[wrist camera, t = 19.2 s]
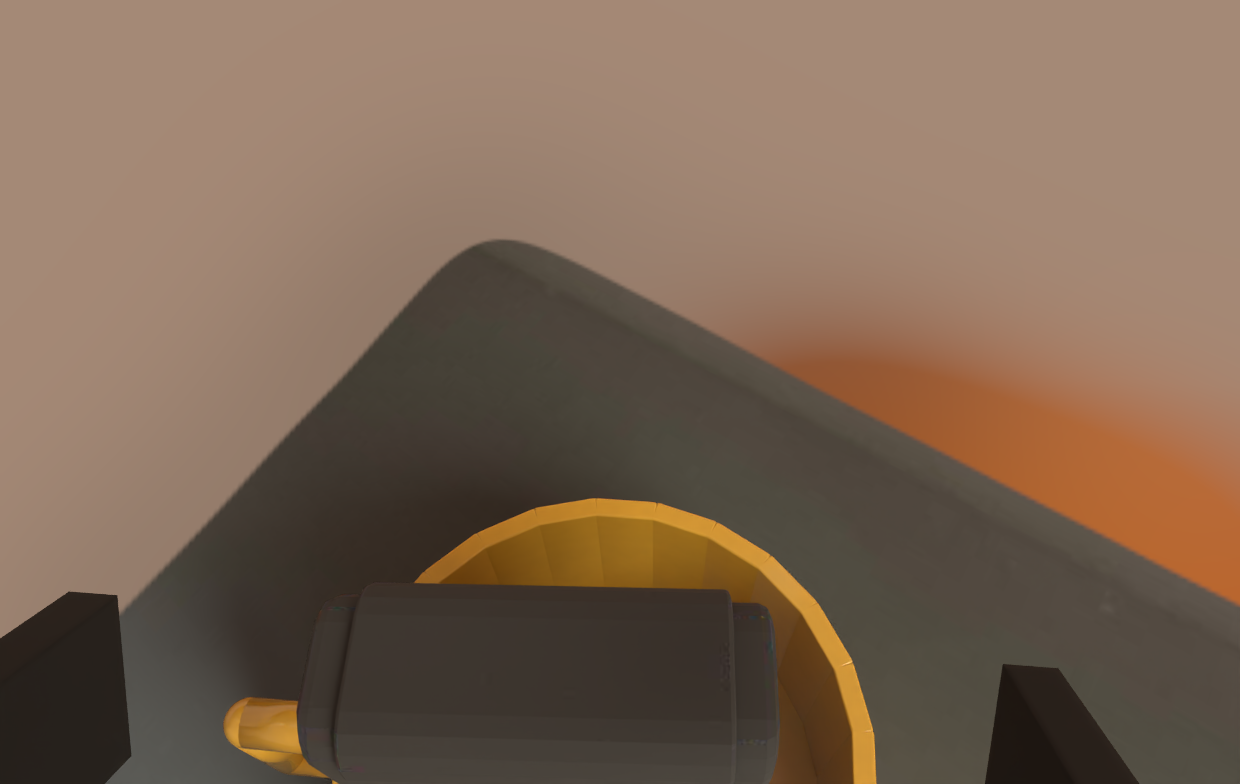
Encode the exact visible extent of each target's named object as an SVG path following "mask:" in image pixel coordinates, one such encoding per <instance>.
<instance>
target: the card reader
mask: <svg viewBox="0 0 1240 784" xmlns="http://www.w3.org/2000/svg"><path fill="white" fill-rule="evenodd" d="M296 714H297V731H298V739H299V744H300V748H301V751H302V755H303V757H304V759H305V760H306V761H307V762H308V764H309V765H310V766H312V767H314V768H315V769H317V770H318V771H320V772H321V773H323V774H324V775H326V776H327V777H329V778H330V779H332V780H334V781H335V782H337V783H338V784H769V782H770V781H771V779H772V776H773V772H774V769H775V765H776V761H777V756H778V748H779V733H780V715H779V696H778V677H777V658H776V639H775V629H774V624H773V620H772V617H771V615H770V612H769V610H768V609H767V607H765V606H763V605H761V604H759V603H735V602H732V600H731V596H730V593H729V591H727V590H725V589H680V588H631V587H582V586H534V585H485V584H436V583H388V582H373V583H371V584H370V585H368V586H366V587H364V589H363V591H362V592H361V594H360V595H356V594H342V595H340V596H337V597H335V598H332V599H330V600H328V601H326V603H325V604H324V606H323V607H322V609H321V610H320V612H319V614H318V616H317V617H316V619H315V621H314V625H313V630H312V635H311V640H310V645H309V650H308V655H307V660H306V665H305V670H304V675H303V680H302V685H301V690H300V695H299V700H298V704H297V710H296Z"/></svg>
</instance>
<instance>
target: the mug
mask: <svg viewBox="0 0 1240 784" xmlns="http://www.w3.org/2000/svg"><path fill="white" fill-rule="evenodd" d="M414 583H436V584H485V585H534V586H582V587H631V588H680V589H725V590H727V591H729V593H730V596H731V600H732V602H735V603H759V604H761V605H763V606H765V607H767V609H768V610H769V612H770V615H771V617H772V620H773V624H774V629H775V639H776V658H777V677H778V696H779V715H780V733H779V748H778V756H777V761H776V765H775V769H774V772H773V776H772V779H771V781H770V782H769V784H876V764H875V740H874V732H873V727H872V724H871V721H870V717H869V714H868V711H867V707H866V704H865V701H864V697H863V694H862V691H861V687H860V684H859V680H858V677H857V674H856V670H855V667H854V665H853V663H852V659H851V658H850V656H849V654H848V652H847V651H846V649H845V647H844V646H843V644H842V642H841V641H840V639H839V637H838V636H837V634H836V632H835V631H834V629H833V627H832V625H831V624H830V622H829V620H828V619H827V617H826V615H825V614H824V612H823V610H822V609H821V607H820V605H819V604H818V603H817V602H816V600H815V599H814V598H813V597H812V596H811V595H810V594H809V593H808V592H807V591H806V590H805V589H804V588H803V587H802V586H801V585H800V584H799V583H798V582H797V581H796V580H795V579H794V578H793V577H792V576H791V575H790V574H789V573H788V572H787V571H786V570H785V569H784V568H783V567H782V566H781V565H780V564H779V563H778V562H777V561H776V559H775V558H774V557H772V556H770V555H769V554H768V553H767V552H765V551H763V550H762V549H760V548H759V547H757V546H755V545H754V544H752V543H750V542H749V541H747V540H746V539H744V538H742V537H741V536H739V535H737V534H736V533H734V532H733V531H731V530H729V529H728V528H726V527H724V526H723V525H721V524H720V523H716V522H715V521H713V520H710V519H707V518H704V517H701V516H698V515H695V514H692V513H688V512H685V511H682V510H679V509H676V508H673V507H670V506H667V505H664V504H661V503H655V502H644V501H630V500H616V499H602V498H596V499H595V498H591V499H585V500H580V501H574V502H568V503H562V504H556V505H550V506H544V507H538V508H535V510H534V509H532V510H529V511H527V512H525V513H522V514H520V515H517V516H515V517H513V518H510V519H508V520H506V521H503V522H501V523H499V524H496V525H494V526H492V527H489V528H487V529H485V530H482V531H480V532H478V533H477V534H474V535H473V536H471V537H470V538H469V539H467V540H466V541H465V542H463V543H462V544H461V545H459V546H458V547H456V548H455V549H454V550H452V551H451V552H450V553H448V554H447V555H446V556H444V557H443V558H442V559H440V560H439V561H437V562H436V563H435V564H433V565H432V566H431V567H429V568H428V569H427V570H425V572H423V573H422V574H421V575H420V576H419V578H418V579H417V580H416V581H415V582H414ZM297 704H298V701H295V700H284V699H273V698H261V697H247V698H243V699H241V700H239V701H237V702H236V703H234V704H233V705H232V706H231V707H230V708H229V710H228V711H227V713H226V715H225V718H224V722H223V730H224V734H225V736H226V738H227V740H228V741H229V742H230V743H231V744H232V745H234V746H235V747H237V748H239V749H241V750H242V751H244V752H246V753H248V754H249V755H251V756H253V757H255V758H256V759H258V760H260V761H262V762H263V763H265V764H267V765H269V766H270V767H272V768H274V769H276V770H277V771H279V772H281V773H284V774H288V775H298V776H309V777H319V778H329V777H327V776H326V775H324V774H323V773H321V772H320V771H318V770H317V769H315V768H314V767H312V766H310V765H309V764H308V762H307V761H306V760H305V759H304V757H303V755H302V751H301V748H300V744H299V739H298V731H297V714H296V710H297ZM332 784H338V783H337V782H335V781H334V780H332Z"/></svg>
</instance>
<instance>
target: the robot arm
mask: <svg viewBox="0 0 1240 784" xmlns="http://www.w3.org/2000/svg"><path fill="white" fill-rule="evenodd" d="M130 757H131V747H130V735H129V724H128V713H127V701H126V690H125V678H124V667H123V655H122V644H121V633H120V621H119V610H118V598H117V595H106V594H93V593H80V592H68V593H66V594H65V595H63V596H62V597H60V598H59V599H57V600H56V601H55V602H53V603H52V604H50V605H49V606H47V607H46V608H44V609H43V610H41V611H40V612H38V613H37V614H35V615H34V616H33V617H31V618H30V619H28V620H27V621H25V622H24V623H22V624H21V625H19V626H18V627H17V628H15V629H13V630H12V631H11V632H9V633H8V634H6V635H5V636H3V637H2V638H0V784H105V783H106V782H107V781H108V780H109V779H110V778H111V776H112V775H113V774H114V773H115V772H116V771H117V770H118V769H119V768H120V767H121V766H122V765H123V764H124V763H125V762H126V761H127V760H128V759H129V758H130ZM985 784H1139V783H1138V781H1137V780H1136V778H1135V777H1134V776H1133V774H1132V773H1131V771H1130V770H1129V768H1128V767H1127V766H1126V764H1125V763H1124V761H1123V760H1122V758H1121V757H1120V756H1119V754H1118V753H1117V751H1116V750H1115V749H1114V747H1113V746H1112V744H1111V743H1110V741H1109V740H1108V739H1107V737H1106V736H1105V734H1104V733H1103V731H1102V730H1101V729H1100V727H1099V726H1098V724H1097V723H1096V721H1095V720H1094V719H1093V717H1092V716H1091V714H1090V713H1089V712H1088V710H1087V709H1086V707H1085V706H1084V704H1083V703H1082V702H1081V700H1080V699H1079V697H1078V696H1077V694H1076V693H1075V692H1074V690H1073V689H1072V687H1071V686H1070V684H1069V683H1068V682H1067V680H1066V679H1065V677H1064V676H1063V674H1062V673H1061V672H1060V670H1059V669H1058V668H1046V667H1033V666H1020V665H1007V664H1003V667H1002V674H1001V681H1000V687H999V694H998V701H997V707H996V714H995V721H994V727H993V734H992V741H991V747H990V754H989V761H988V767H987V774H986V781H985Z"/></svg>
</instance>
